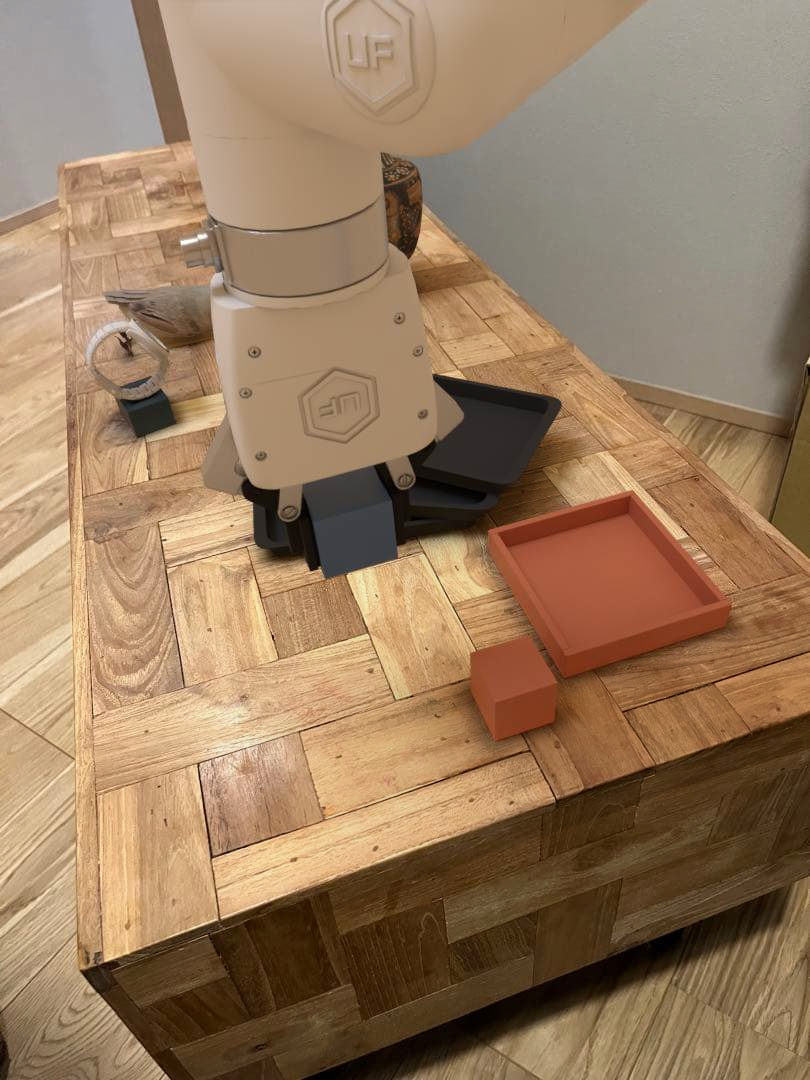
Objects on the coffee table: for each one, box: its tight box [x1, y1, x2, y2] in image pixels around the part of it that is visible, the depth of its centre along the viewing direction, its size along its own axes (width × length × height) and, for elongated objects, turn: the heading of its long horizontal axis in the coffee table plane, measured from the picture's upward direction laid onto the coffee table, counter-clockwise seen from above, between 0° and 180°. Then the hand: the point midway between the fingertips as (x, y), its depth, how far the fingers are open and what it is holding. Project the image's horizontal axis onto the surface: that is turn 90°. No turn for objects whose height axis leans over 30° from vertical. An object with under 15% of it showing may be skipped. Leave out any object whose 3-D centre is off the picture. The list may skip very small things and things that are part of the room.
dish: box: [487, 489, 733, 679], centre depth 64 cm, size 14×13×2 cm
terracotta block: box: [469, 634, 559, 742], centre depth 56 cm, size 4×4×4 cm
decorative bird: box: [102, 282, 213, 356], centre depth 98 cm, size 5×16×8 cm, turn 106°
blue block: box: [302, 465, 399, 580], centre depth 47 cm, size 4×4×4 cm
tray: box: [252, 372, 563, 558], centre depth 76 cm, size 30×23×5 cm
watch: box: [84, 318, 177, 439], centre depth 84 cm, size 6×8×11 cm
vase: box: [381, 152, 424, 261], centre depth 95 cm, size 12×12×30 cm
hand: (351, 540), depth 48 cm, fingers closed on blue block, 4 cm apart
